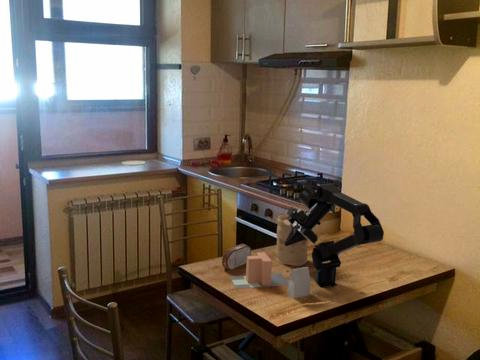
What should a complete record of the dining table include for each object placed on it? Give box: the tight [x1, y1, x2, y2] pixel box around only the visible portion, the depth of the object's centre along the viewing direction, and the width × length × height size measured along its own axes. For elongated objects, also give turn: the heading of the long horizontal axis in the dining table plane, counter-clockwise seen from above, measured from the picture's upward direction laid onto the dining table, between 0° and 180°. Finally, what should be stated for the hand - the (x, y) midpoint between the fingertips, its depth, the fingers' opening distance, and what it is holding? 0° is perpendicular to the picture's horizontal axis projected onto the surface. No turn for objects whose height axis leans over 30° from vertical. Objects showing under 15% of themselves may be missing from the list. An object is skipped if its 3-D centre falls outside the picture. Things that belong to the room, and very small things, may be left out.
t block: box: [245, 251, 273, 286], centre depth 184 cm, size 8×9×9 cm
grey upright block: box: [286, 266, 312, 299], centre depth 174 cm, size 4×7×10 cm, turn 119°
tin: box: [221, 243, 252, 271], centre depth 199 cm, size 15×3×8 cm, turn 141°
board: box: [229, 272, 288, 290], centre depth 186 cm, size 20×11×1 cm, turn 104°
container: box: [275, 213, 309, 267], centre depth 205 cm, size 13×13×18 cm
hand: (285, 245), depth 185 cm, fingers closed
